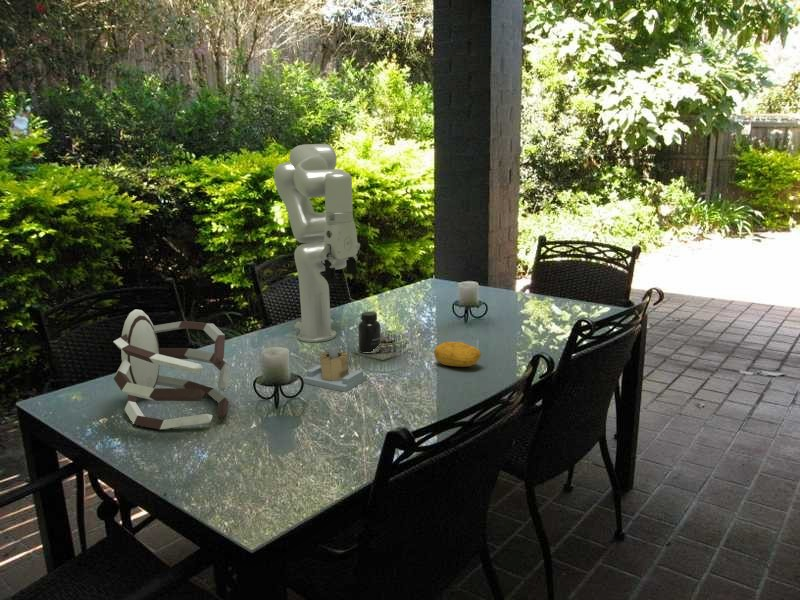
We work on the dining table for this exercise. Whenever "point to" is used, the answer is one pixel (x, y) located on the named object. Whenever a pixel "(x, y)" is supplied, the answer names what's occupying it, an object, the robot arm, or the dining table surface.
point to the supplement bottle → (369, 332)
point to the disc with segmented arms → (146, 356)
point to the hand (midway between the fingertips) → (341, 277)
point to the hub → (334, 366)
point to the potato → (457, 354)
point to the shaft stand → (340, 385)
